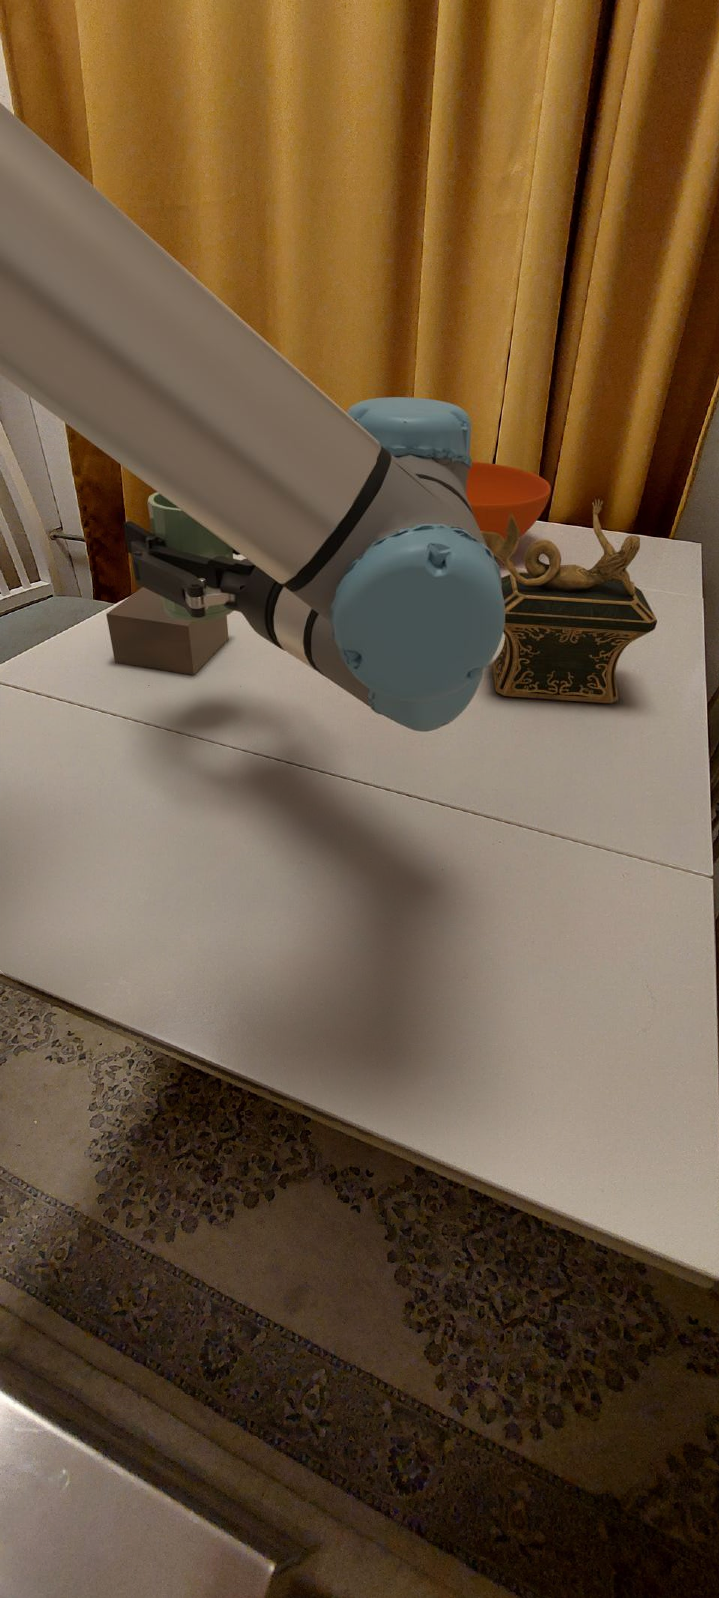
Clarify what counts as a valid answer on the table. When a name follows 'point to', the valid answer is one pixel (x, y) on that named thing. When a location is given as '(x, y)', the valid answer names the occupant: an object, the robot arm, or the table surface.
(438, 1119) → the table surface
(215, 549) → the cup
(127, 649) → the block
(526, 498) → the bowl
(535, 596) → the decorative box
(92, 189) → the robot arm
